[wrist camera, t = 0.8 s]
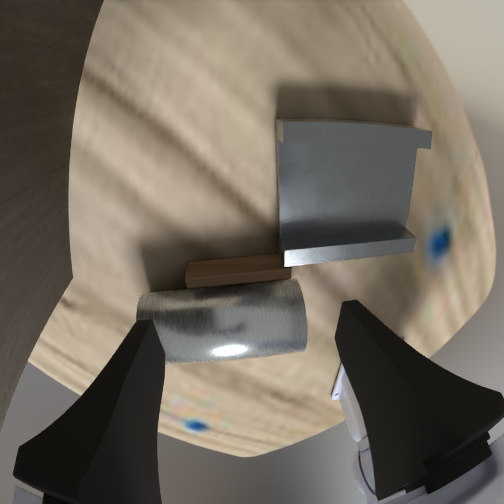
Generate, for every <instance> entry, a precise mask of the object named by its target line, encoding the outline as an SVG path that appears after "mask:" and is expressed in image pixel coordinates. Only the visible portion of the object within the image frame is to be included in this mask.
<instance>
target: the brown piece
mask: <svg viewBox="0 0 504 504" xmlns="http://www.w3.org/2000/svg"><path fill="white" fill-rule="evenodd" d="M286 278H291V266H288V267H284V264H283V261H282V258H281V255H280V253H276V254H265V255H255V256H245V257H235V258H225V259H214V260H204V261H194V262H188V263H187V269H186V275H185V281H186V286H187V288H196V287H207V286H218V285H229V284H239V283H249V282H259V281H268V280H277V279H286Z"/></svg>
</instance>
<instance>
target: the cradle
mask: <svg viewBox="0 0 504 504" xmlns="http://www.w3.org/2000/svg"><path fill="white" fill-rule="evenodd" d="M275 122H276V149H277V183H278V240H279V252H280V255H281V258H282V261H283V264H284V267H288V266H297V265H306V264H315V263H324V262H333V261H342V260H350V259H359V258H367V257H375V256H383V255H391V254H399V253H407V252H413V249H414V245H415V241H416V237H415V236H414V235H413V234H412V233H411V232H409V231H408V230H407V229H406V228H405V227H406V222H407V217H408V211H409V205H410V199H411V192H412V185H413V178H414V170H415V161H416V151H417V148H426V149H431V140H432V131H429V130H425V129H422V128H418V127H415V126H409V125H401V124H393V123H383V122H373V121H360V120H343V119H275Z"/></svg>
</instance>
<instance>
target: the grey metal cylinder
mask: <svg viewBox="0 0 504 504" xmlns="http://www.w3.org/2000/svg"><path fill="white" fill-rule="evenodd" d="M148 319H152V320H153V322H154V325H155V328H156V331H157V333H158V336H159V339H160V341H161V344H162V346H163V349H164V351H165V364H182V363H202V362H217V361H230V360H241V359H250V358H259V357H268V356H276V355H283V354H290V353H297V352H303V351H305V349H306V345H307V318H306V310H305V304H304V299H303V294H302V291H301V288H300V285H299V283H298V281H297V280H296V279H286V280H277V281H268V282H258V283H248V284H239V285H228V286H218V287H207V288H196V289H184V290H172V291H159V292H145V293H143V294H142V295H141V297H140V299H139V302H138V306H137V314H136V321H137V320H148Z"/></svg>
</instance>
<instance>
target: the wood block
mask: <svg viewBox="0 0 504 504" xmlns="http://www.w3.org/2000/svg"><path fill="white" fill-rule="evenodd" d="M103 1H104V0H0V431H1V428H2V424H3V421H4V419H5V416H6V413H7V410H8V407H9V404H10V401H11V399H12V396H13V394H14V391H15V389H16V386H17V384H18V381H19V379H20V377H21V374H22V372H23V370H24V368H25V365H26V363H27V361H28V359H29V357H30V355H31V352H32V350H33V348H34V346H35V344H36V342H37V340H38V338H39V336H40V334H41V332H42V330H43V329H44V327H45V325H46V323H47V321H48V319H49V317H50V316H51V314H52V312H53V310H54V309H55V307H56V305H57V303H58V302H59V300H60V298H61V296H62V295H63V293H64V291H65V290H66V288H67V287H68V285H69V283H70V282H71V280H72V279H73V274H72V265H71V254H70V239H69V215H68V186H69V163H70V149H71V138H72V129H73V121H74V114H75V107H76V101H77V95H78V90H79V84H80V79H81V75H82V70H83V66H84V62H85V58H86V54H87V50H88V46H89V43H90V39H91V36H92V32H93V29H94V26H95V23H96V20H97V17H98V14H99V11H100V9H101V6H102V3H103Z"/></svg>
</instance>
